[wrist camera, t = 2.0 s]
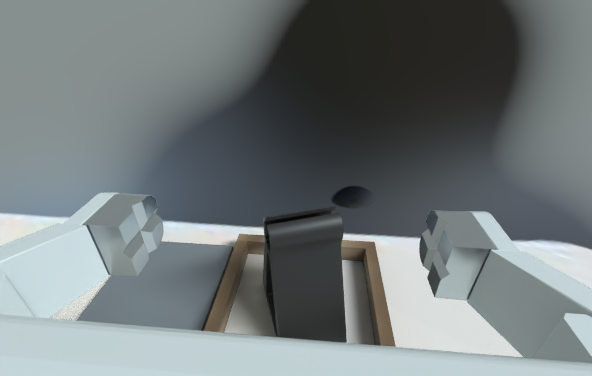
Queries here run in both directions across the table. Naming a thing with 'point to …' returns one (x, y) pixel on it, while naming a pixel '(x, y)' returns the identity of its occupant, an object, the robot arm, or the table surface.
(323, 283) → the phone stand
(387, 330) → the walnut frame
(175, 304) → the charcoal mat
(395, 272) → the table surface
